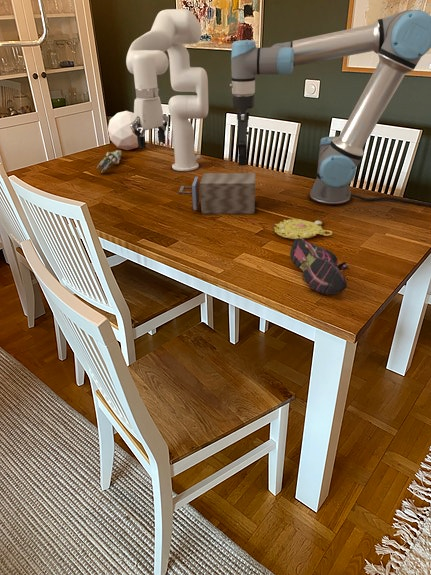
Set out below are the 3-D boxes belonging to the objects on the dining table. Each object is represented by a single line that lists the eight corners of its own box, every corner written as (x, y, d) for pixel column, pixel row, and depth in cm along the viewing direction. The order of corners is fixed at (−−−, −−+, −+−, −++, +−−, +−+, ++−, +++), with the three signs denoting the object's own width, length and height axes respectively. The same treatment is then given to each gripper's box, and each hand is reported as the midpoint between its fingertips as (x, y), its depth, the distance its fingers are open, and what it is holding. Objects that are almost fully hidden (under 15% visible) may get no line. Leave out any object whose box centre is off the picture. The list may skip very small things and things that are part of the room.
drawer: (178, 210, 163) (176, 185, 158) (182, 200, 171) (180, 176, 166) (242, 210, 161) (242, 185, 156) (243, 200, 169) (243, 176, 164)
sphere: (121, 160, 244) (102, 128, 241) (152, 143, 246) (133, 111, 243) (119, 152, 225) (98, 116, 222) (153, 133, 227) (132, 97, 225)
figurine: (101, 154, 197) (119, 141, 223) (91, 167, 200) (110, 152, 227) (114, 165, 199) (130, 151, 225) (103, 178, 203) (121, 162, 229)
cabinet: (201, 213, 162) (199, 183, 156) (204, 202, 172) (203, 173, 165) (254, 213, 161) (255, 183, 154) (254, 202, 170) (255, 173, 164)
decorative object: (286, 211, 157) (342, 219, 147) (286, 217, 158) (341, 226, 148) (260, 233, 142) (319, 243, 133) (260, 240, 144) (319, 251, 134)
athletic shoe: (333, 284, 107) (372, 276, 111) (293, 223, 119) (330, 218, 123) (316, 311, 116) (353, 303, 120) (281, 252, 127) (315, 246, 132)
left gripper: (158, 89, 158) (162, 138, 167) (120, 96, 147) (126, 148, 156) (172, 91, 154) (176, 141, 163) (134, 98, 143) (140, 151, 152)
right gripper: (233, 88, 155) (233, 149, 167) (229, 101, 134) (230, 170, 146) (254, 88, 155) (253, 149, 166) (254, 101, 134) (253, 170, 145)
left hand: (152, 144), depth 160 cm, fingers open, 9 cm apart
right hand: (242, 159), depth 156 cm, fingers open, 13 cm apart
